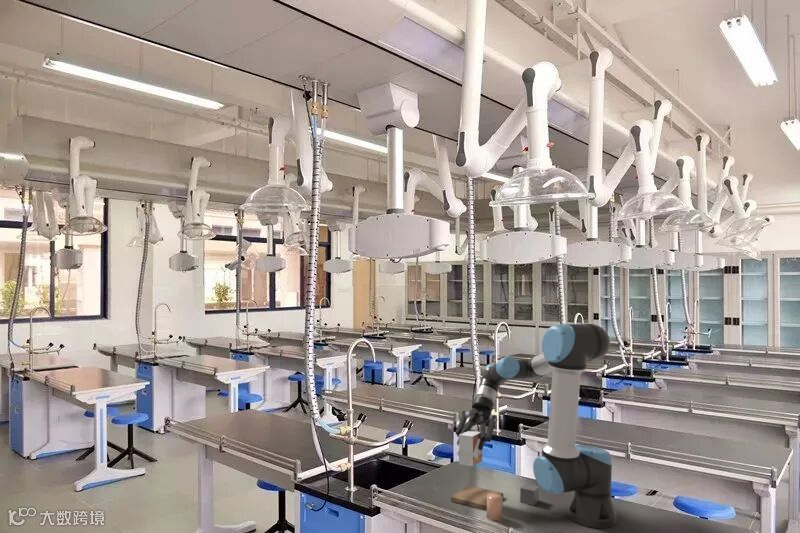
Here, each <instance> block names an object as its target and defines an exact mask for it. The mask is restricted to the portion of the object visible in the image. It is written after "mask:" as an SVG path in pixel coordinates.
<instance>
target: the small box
mask: <svg viewBox="0 0 800 533" xmlns="http://www.w3.org/2000/svg"><path fill="white" fill-rule="evenodd" d="M458 438H459V456H458V459H459V460H458V461H459V462H458V463H459V465H463V466H467V467H468V466H469V467H475V466H476V465H477V464H479V463H483V462H482V461H483V449H482V450H480V451H479V454H478V458H477V459H475V458H474V456H473V453H474V450H475V446H476V443H477V440H478V439H480V440H481V438H480V431H478V430H471V429H470V430H468V431H467V432H464V433H462V434H460V435H459V437H458Z"/></svg>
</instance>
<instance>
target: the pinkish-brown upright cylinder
mask: <svg viewBox="0 0 800 533" xmlns="http://www.w3.org/2000/svg"><path fill="white" fill-rule="evenodd" d="M487 518H488V520H489V519H490V520H489V521H491V520H495V521H494V522H498V521H499V520H500V521H502V520H503V498H502V496H501V495H499V494H495V493H492V494H488V495H487V510H486V519H487ZM500 521H499V522H500Z"/></svg>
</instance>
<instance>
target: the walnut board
mask: <svg viewBox="0 0 800 533" xmlns="http://www.w3.org/2000/svg"><path fill="white" fill-rule="evenodd" d="M492 493H495V494H499V495H501V496H502V499H504V492H499V491H495V490H491V489H487V488H482V487H479V486H475V485H470V484H467V485H466V486H464V487H463V488H462V489H460V490H459V491H458V492H456V493H455V494H453V495H451V497H450V502H452V503H456V504H460V505H464V506H469V507H471V508H472V507H473V508H476V509H480V510H484V511H487V495H488V494H492Z"/></svg>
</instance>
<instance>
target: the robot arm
mask: <svg viewBox="0 0 800 533" xmlns="http://www.w3.org/2000/svg"><path fill="white" fill-rule="evenodd" d="M610 348H611V338H610V336H609V334H608V332H607V331H606V330H605V329H604V327H603V328H602V327H601V326H599V325H597V324H595V323H561V324H555V325H552V326H550V327H549V328H548V329H547V330H545V332H544V334H543V336H542V340H541V351H542V353H540V354H538V355H536V356H533V357H530V358H527V359H526V358H525V359H517V358H515V357H512V356H510V355H509V356H507V355H506V356H505V357H502V358H501V359H499V360H498V361H497V362H496V363H489V364H487V365H486V366H485V368H484V370H483V371H482V376H481V379H480V382H479V384H478V388H477V391H476V393H475V398H474V399H473V401H472V405H471V408H470V410H469V411H465V410H462V411H461V417H460V420H459V422H458V425H457V426H456V428H455V429H456V430H455V435H456V437H457V442H456V446H457V448H456V450H455V452H456V454H457V456H458V457H459V435H460V434H462V433H464V432H467V431H468V430H470V431H471V430H472V428H473V427H474V426H475V425H476V424H479V425H480V428H479V429H480V431H479V432H480V438H481V440H480V439H478V440H477V443H476V446H475V450H474V453H473V456H474V458H475V459H477V458H478V454H479V451H480V450H482V451H483V449H484V446H485V443H486V442H488V443H490V442H491V440H492V437H493V433H494V429H495V425H496V424H497V422H498V417H497V415H496V414H492V411H493V409H494V405H495V402H496V399H497V396H498V392H499V390H500V387H501V386H502V385H504V384H505V383H506V382H508V381H518V380H533V379H536V380H539V379H543V378H547V375H548V374H551V375H552V376H551V388H550V389H551V390H550V399H549V400H550V403H549V418H548V419H549V420H548V430H547V431H548V433H547V441H546V443H545V444H543V445H542V447H541V455H539V456H537V457H536V458H535V459H534V461H533V464H532V471H533V475H534V478H535V481H536V482H537V484H538V487H539V488H540V489H541V490H543V491H544V492H545V493H546V494H548V495H549V494H550V495H556V494H557V495H562V494H563V493H569V492H570V493H571V492H573V494H572V496H571V499H570V502H569V505H568V509H567V513H568V514H567V515H568V518H569V519H570V520H571V521H573V522H574V523H577V524H579V525H582V526H584V527H590V528H595V529H596V528H598V529H606V528H611V527H613V526H616V524H617V521H618V520H617V512H616V509H615V505H614V502H613V499H612V469H613V468H612V466H613V464H612V454H611V453H610V452H609V451H608V450H606V449H604V448H600V447H599V446H593V445H590V444H589V445H588V444H576V439H577V427H578V416H579V415H578V411H579V399H580V389H581V388H580V387H581V386H580V384H581V374H582V373H583V372H584V371H586V370H587V362H593V361H595V360H599V359H601V358H604V357H606V355H607V353H608V352H609V350H610ZM487 421H489V423H488V426H487V424H486V423H487ZM466 422H467V423H466ZM486 427H487V429H486Z"/></svg>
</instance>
